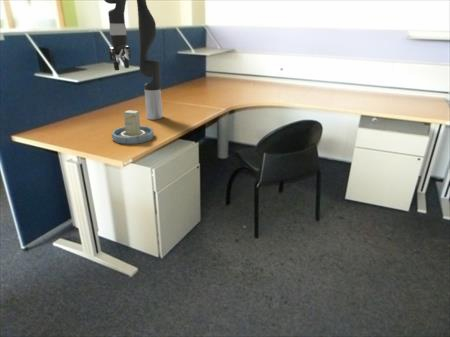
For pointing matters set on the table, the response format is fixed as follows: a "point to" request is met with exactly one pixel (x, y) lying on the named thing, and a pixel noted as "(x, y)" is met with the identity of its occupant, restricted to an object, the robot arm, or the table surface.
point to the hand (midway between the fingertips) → (122, 69)
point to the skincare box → (132, 123)
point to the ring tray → (121, 137)
